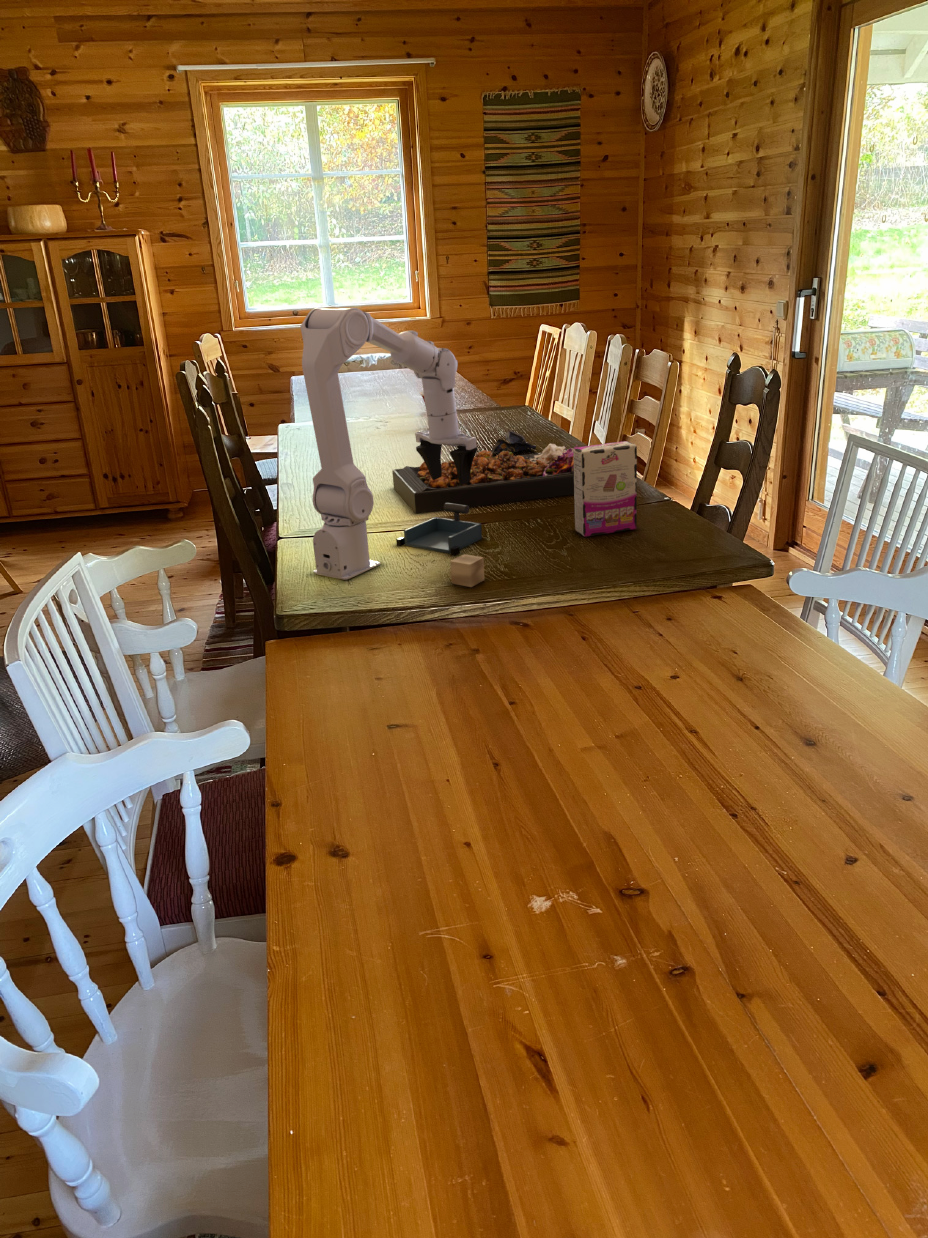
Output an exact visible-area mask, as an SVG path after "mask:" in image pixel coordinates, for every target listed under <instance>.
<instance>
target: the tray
mask: <svg viewBox="0 0 928 1238" xmlns="http://www.w3.org/2000/svg"><path fill="white" fill-rule="evenodd" d="M444 511H445V512H450V513H453V519H452V518H446V517H439V516H434V517H432V518H430V519H427V520H425V521H422V522H420V523H418V524H415V525H412V526H410V527H408V528H406V529H404V530H403V537H404V539H405V545H404V546H406V547H411V548H417V549H422V550H427V551H433V552H439V553H445V554H451V549H450V548H452V547H454V546H459V547H460V550H462V549H464V548H466V547H468V546H470V545H473V544H474V543H477V542H478V541H481V540H482V539H483V532H482V529H483V528H482V523H481V522H480V523H479V522H474V521H473V522H472V521H467V520H461V515H460V514H463V515H467V514H469V513H470V507H469V506H466V505H458V504H451V503H445V504H444Z"/></svg>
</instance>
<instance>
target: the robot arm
mask: <svg viewBox="0 0 928 1238" xmlns="http://www.w3.org/2000/svg"><path fill="white" fill-rule="evenodd" d="M300 333H301V338H302V343H303V347H302V348H303V349H302V355H301V356H302V357H301V368H302V373H303V379H304V384H305V390H306V395H307V398H308V400H307V401H308V405H309V411H310V415H311V420H312V426H313V430H314V437H315V442H316V447H317V452H318V457H319V463H320V467H321V468H320V470H319V471H318V472H317V473H315V475H314V476H313V478H312V483H313V492H312V505H313V508H314V510H315V511H316V512H317V514H319V515H320V518H321V521H323V522H324V523H323V525H322V526H321V528H320V529H318V530H317V531H315V532H314V534H313V538H312V548H313V553H314V554H313V555H314V563H315V569H314V570H313V574H314V575H319V576H322V577H323V576H324V577H328V578H333V579H339V580H343V581H348V580H351V579H352V578H354V577H356V576H359V575H361V574H363V573H365V572H368V571H369V570H372V569H374V568H376V567H379V566H380V565H381V562H380V561H377V560H371V559H370V551H369V539H368V530H367V529H368V528H367V521H369V517H370V515H371V513H372V511H373V509H374V501H375V500H374V496H373V492H372V491H371V489H370V487H369V486H368V483H367V478H366V475H365V474H364V473H363V472H362V471H361V470H360V469H359V468H358V466H357V465H356V464H355V463H354V457H353V453H352V446H351V441H350V435H349V430H348V423H347V419H346V411H345V407H344V406H345V405H344V401H343V395H342V390H341V389H342V388H341V384H340V377H339V370H340V369H341V368H342V366H343V364H345V363H346V362H347V361H348V360H350V358H352V357H353V355H355V354H356V353H357V352H359V350H361V348H362V347H363V346H364V345H365V344H366V343H368V344H371V345H373V346H376V347H378V348H380V349H382V350H385V351H387V352H389V353H390V357H391V359H392V361H394V362H395V363H396V364H399V365H400V366H403V367H405V368H406V369H409V370H410V371H413V374H414V375H415V377H416V378H417V379H421V383H422V391H424V399H425V402H424V407H425V406H426V407H425V412H426V420H427V426H428V427H427V428H428V430H425V429H424V430H423V429H421V430H419V431H416V432H414V436H415V442H416V443H419V445H417V446H416V447H415V450H416V451H415V452H417V453H418V454H419V455H420V457H421V458H422V460H423V462H425V464H426V466H427V468H428V470H429V473H430V475H431V478H432V480H435V479H438V478H440V477H441V476H442V468H441V464H442V447H443V446H447V447H448V446H449V447H455V449H453V450H451V451H449V455H450V456H451V459H452V461H454V463H455V466H456V470H457V475H458V480H459V483H460V485H464V484H466V483H468V482H469V480H470V472H471V466H472V462H473V459H474V457H476V454H477V453H478V452H477V451H478V446H477V438H476V437H475V436H471V435H468V434H466V433H463V432H462V429H460V428H459V419H458V411H457V403H456V397H455V390H454V388H455V387H456V384H457V383H456V375H457V371H458V364H459V363H458V360H457V359H456V356H455V355H454V353H453V352H452V351H451V350H450V349H448V348H445V347H437V346H436V345H435V343H434V341H431V340H425V339H423V338H422V337H419V336H418V335H419V333H418V332H417V331H415V330H406V331H401V332H399V333H398V332H396V331H395V330H394V329H391V328H390V327H389V326H387V325H385V324H383V322H380V321H379V320H377V319H375V318H374V317H372V315H371V313H369V312H367V311H363V310H362V309H360V308H358V307H349V308H323V307H315V308H313V309H311V310H310V311H309V312H308V313H307V315H306V316H305V318H304V320H303V321H302V323H301V324H300Z"/></svg>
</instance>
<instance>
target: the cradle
mask: <svg viewBox="0 0 928 1238" xmlns="http://www.w3.org/2000/svg"><path fill="white" fill-rule="evenodd" d="M395 540H396V541H395V542H396V547H403V546H405V539H404V536H400V537H398V538H396V539H395ZM450 549H451V553H450V556H453V557H456V556H458V555H460V554H461V549H460V547H459V546H454V547H452V548H450Z"/></svg>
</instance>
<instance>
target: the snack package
mask: <svg viewBox="0 0 928 1238" xmlns="http://www.w3.org/2000/svg"><path fill="white" fill-rule="evenodd" d="M504 437H505V440H504V439H501V438H499V439H497V441H496V442H495V445H494V446H493V447H492V448H491V450H490V451H491V452H492V456H493V455H494V454H498V453H499V454H500V453H501V452H502V451H508V452H511V453H514V452H515V453H516V452H522V451H524V450H527V449H529V451H532V450H536V449H537V445H534V444H531V443H529V442H527V441H526V439H525V437H524V435H521V434H520V433H517V432H515V431H511V430H510V429H508V430H507V432H506V434H505V436H504Z"/></svg>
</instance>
